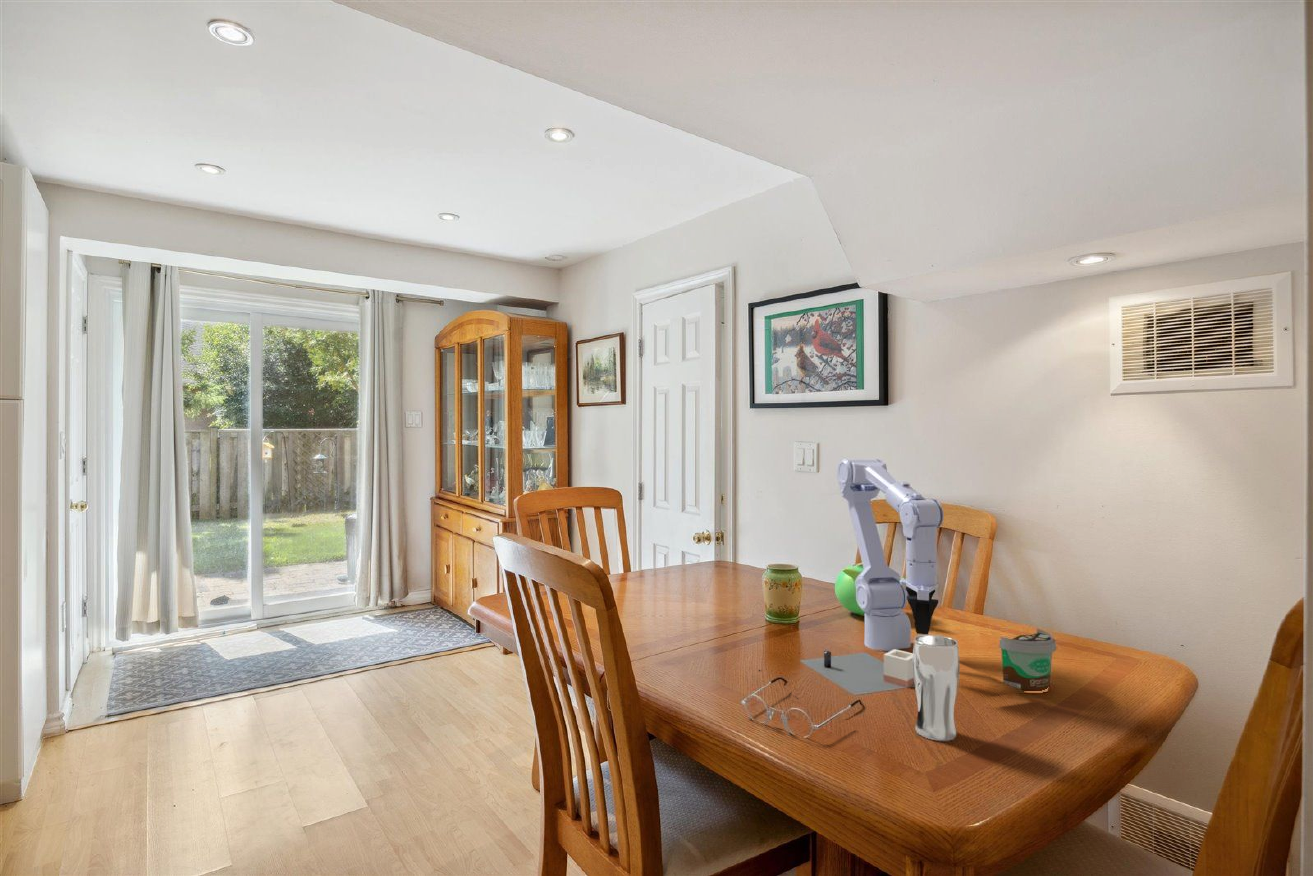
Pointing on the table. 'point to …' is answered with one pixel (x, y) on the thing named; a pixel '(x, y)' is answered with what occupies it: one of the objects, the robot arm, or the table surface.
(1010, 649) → the food container
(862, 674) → the pin board
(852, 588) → the toy bird
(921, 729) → the beer glass
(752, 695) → the eyeglasses
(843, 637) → the table surface
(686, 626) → the table surface
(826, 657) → the black pin
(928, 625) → the robot arm
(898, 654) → the sleeve
